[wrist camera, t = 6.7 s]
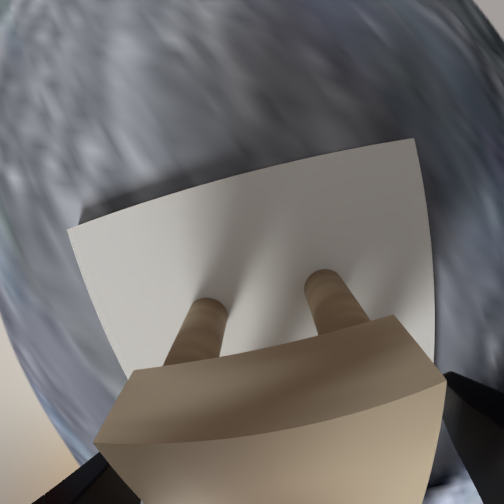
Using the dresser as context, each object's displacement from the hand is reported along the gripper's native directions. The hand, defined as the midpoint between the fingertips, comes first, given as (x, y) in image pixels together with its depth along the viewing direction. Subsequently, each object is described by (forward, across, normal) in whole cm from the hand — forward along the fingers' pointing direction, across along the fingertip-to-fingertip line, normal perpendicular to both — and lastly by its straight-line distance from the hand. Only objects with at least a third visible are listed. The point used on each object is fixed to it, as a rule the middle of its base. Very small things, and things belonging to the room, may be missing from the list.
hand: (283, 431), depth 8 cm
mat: (+5, 0, 0) cm, 5 cm away
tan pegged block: (+4, 0, 0) cm, 4 cm away
